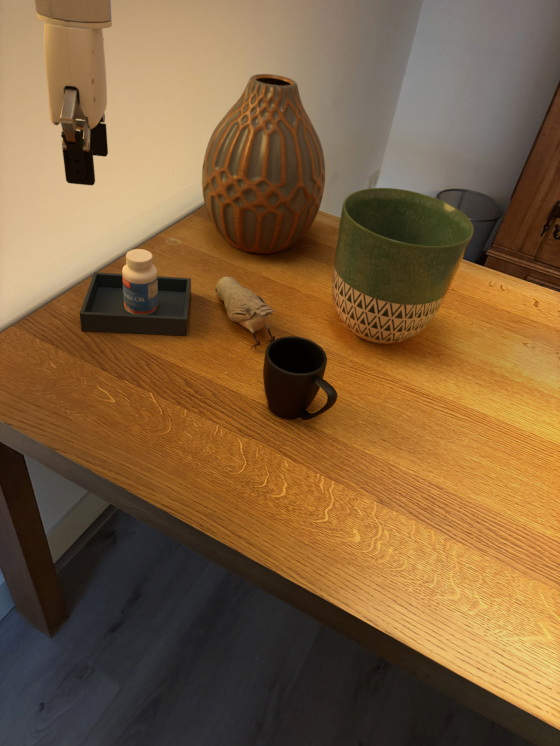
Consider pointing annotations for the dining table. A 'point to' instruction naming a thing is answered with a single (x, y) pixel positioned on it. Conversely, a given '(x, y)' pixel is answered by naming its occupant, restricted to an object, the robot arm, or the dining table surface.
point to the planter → (395, 261)
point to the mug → (295, 378)
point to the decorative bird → (244, 306)
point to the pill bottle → (140, 283)
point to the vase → (264, 168)
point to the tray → (110, 315)
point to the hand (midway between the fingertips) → (88, 168)
